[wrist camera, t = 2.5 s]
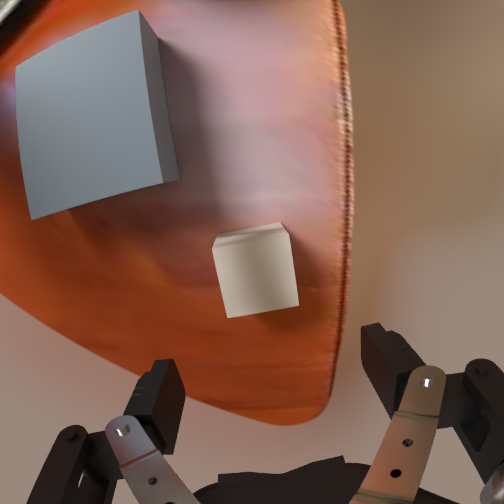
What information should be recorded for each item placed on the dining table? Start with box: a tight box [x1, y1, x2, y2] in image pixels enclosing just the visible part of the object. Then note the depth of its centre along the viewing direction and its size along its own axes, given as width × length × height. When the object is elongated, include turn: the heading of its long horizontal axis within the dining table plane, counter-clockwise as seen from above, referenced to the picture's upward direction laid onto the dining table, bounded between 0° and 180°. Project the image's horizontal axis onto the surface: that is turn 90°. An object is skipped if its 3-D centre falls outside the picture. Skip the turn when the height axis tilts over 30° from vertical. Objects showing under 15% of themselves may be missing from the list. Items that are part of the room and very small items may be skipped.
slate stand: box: [15, 9, 181, 221], centre depth 21 cm, size 12×14×6 cm
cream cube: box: [212, 222, 299, 318], centre depth 25 cm, size 6×6×6 cm
